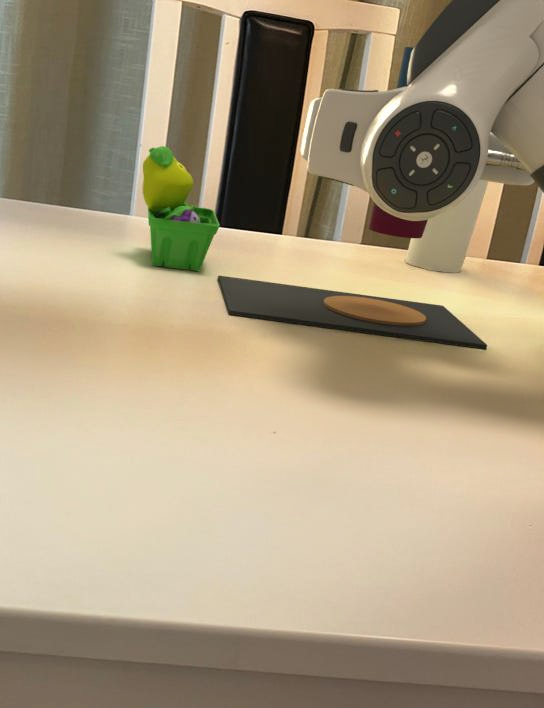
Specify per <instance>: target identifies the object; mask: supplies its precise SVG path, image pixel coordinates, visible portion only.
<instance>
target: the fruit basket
mask: <svg viewBox="0 0 544 708" xmlns="http://www.w3.org/2000/svg"><path fill="white" fill-rule="evenodd" d="M148 152H149V154H148V156H147V157H145V159H144V161H143V163H142V174H143V175H142V176H143V179H142V180H143V181H142V197H143V200H144V203H145V205H146V206H147V218H148V226H149V227H150V228H149V229H150V230H149V231H150V249H151V263H152V265H153V266H155V267H165V268H169V269H177V270H184V271H185V270H186V271H188V270H189V271H192V272H200V271H201V268H202V267H203V263H204V261H205V258H206V256H207V254H208V251H209V249H210V247H211V245H212V241H213V239H214V236H216V234H217V232H218V230H219V228H220V227H221V224H220V222H219V220H218V217H217V215H216V213H215V210H213V209H210V208H206V207H199V206H195V205H194V204H192V205H189V204H188V203H187V202H186V200H187V199H188V197H189V194H190V192H191V190H192V188H193V186H194V179H193V176H192V174H190V172H188V171H187V168H186V166H184V165H183V164H182V163H181V162H180V161H178V160H177V158H176V157H175V156H174V153H173V151H172V150H171V149H170V148H168V146H164V145H162V146H161V145H160V146H157V147H156V148H155V147H151V148H149V149H148Z"/></svg>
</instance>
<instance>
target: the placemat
mask: <svg viewBox="0 0 544 708" xmlns="http://www.w3.org/2000/svg"><path fill="white" fill-rule="evenodd" d="M217 281H218V284H219V288H220V290H221V295H222V297H223V301H224V303H225V306H226V310H227V313H228V315H230V316H238V317H243V318H245V317H246V318H250V319H251V318H252V319H258V320H266V321H274V322H282V323H290V324H295V325H296V324H297V325H302V326H303V325H304V326H310V327H318V328H325V329H326V328H327V329H334V330H340V331H349V332H355V333H364V334H371V335H377V336H378V335H379V336H384V337H393V338H400V339H408V340H414V341H415V340H416V341H421V342H430V343H436V344H444V345H453V346H459V347H467V348H473V349H482V350H487V348H488V344H487V343H486V342H485V341H484V340H482V339H481V338H480V337H479V336H478V335H477V334H476V333H475V332H474V331H473V330H471V329H470V328H469V327H468V326H467V325H465V323H463V322H462V321H461V320H460V319H459V318H458V317H457V316H455V314H453V313H452V312H451V311H450V310H449V309H447V308H446V307H445V306H444V305H440V304H433V303H425V302H419V301H411V300H405V299H397V298H388V297H381V296H375V295H366V294H359V293H352V292H345V291H337V290H329V289H324V288H315V287H308V286H301V285H294V284H293V285H292V284H285V283H280V282H279V283H278V282H271V281H263V280H256V279H249V278H242V277H233V276H227V275H218V276H217Z"/></svg>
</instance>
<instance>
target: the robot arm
mask: <svg viewBox="0 0 544 708" xmlns="http://www.w3.org/2000/svg"><path fill="white" fill-rule="evenodd" d="M414 47H415V48H414V49H413V51H412V53H411V57H410V62H409V67H408V74H407V85H409V86H406V87H402V88H398V89H397V88H394V89H389V90H383V91H382V90H381V91H379V90H378V89H373V90H372V89H371V90H366V89H365V90H364V89H363V90H361V89H348V88H339V89H337V88H327V89H325V90H324V92H323V95H322V96H320V97H317V98H314V99H313V100H312V101H311V102H310V104H309V107H308V111H307V116H306V120H305V123H304V129H303V133H302V139H301V143H300V155H301V157H302V158H303V159H304V160H305V161H306V162H307V172H308V173H309V174H311V175H314V176H318V177H320V178H323V179H327V180H330V181H335V182H339V183H341V184H345V185H349V186H352V187H356V188H358V189H360V190H362V191H364V192H365V193H367V194H368V195H369V196H370V198H371V200H372V201H373V203H374V202H375V203H376V204H377V206H379V207H380V208H381V209H382V210H384V211H385V212H387V213H389V214H391V215H393V216H395V217H398V218H401V219H404V220H410V221H421V220H427V219H431V218H434V217H437V216H439V215H442V214H444V213H446V212H448V211H449V210H451V209H453V208H454V207H455V206H457V205H458V204H459V203H460V202H462V201H463V200H464V199H465V198H466V197H467V196H468V195H469V193H470V192H471V191H472V190H473V188H474V187H475V186H476V184H477V182H478V181H479V180H483V181H488V182H490V183H497V184H503V185H509V186H510V185H512V186H530V185H532V184H534V183H535V184H536V186H538V188H539V189H540V191H542V193H543V194H544V0H451V1H450V2H449V3H448V4H447V5H446V6H445V7H444V9H443V10H442V11H441V12H440V14H439V15H437V17H436V18H435V19H434V20H433V22H432V23H431V24H430V25H429V27H428V28H427V30H426V31H425V32H424V34H423V35H422V36H421V38H420V39H419V41H418V42H417V43H416V44H415V46H414Z"/></svg>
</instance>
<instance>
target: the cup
mask: <svg viewBox="0 0 544 708" xmlns="http://www.w3.org/2000/svg"><path fill="white" fill-rule="evenodd" d="M414 48H415V46H405V47H404V50H403V53H402V58H401V59H402V60H401V64H400V68H399V69H400V70H399V74H398V79H397V85H396V89H398V88H402V87H406V86H409V85H407V74H408V67H409V62H410V57H411V53H412V51H413V49H414ZM427 221H428V219H427V220H421V221H410V220H404V219H401V218H398V217H395V216H393V215H391V214H389V213H387V212H385V211H384V210H382V209H381V208H380V207H379V206H377V204H376V203H375V202H374V201H373V205H372V210H371V215H370V220H369V225H368V229H369V230H370V231H372V232H374V233H378V234H382V235H385V236H391V237H396V238H397V237H398V238H405V239H411V238H422V236H423V233H424V230H425V227H426V224H427Z"/></svg>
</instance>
